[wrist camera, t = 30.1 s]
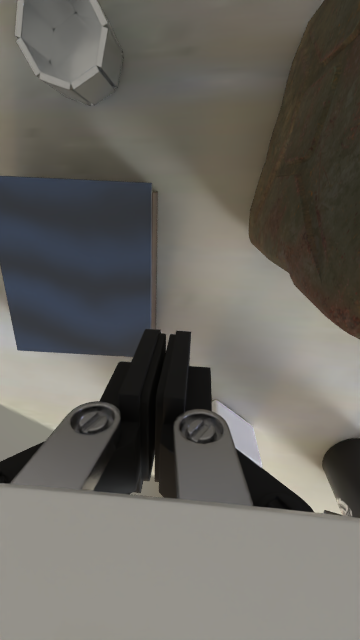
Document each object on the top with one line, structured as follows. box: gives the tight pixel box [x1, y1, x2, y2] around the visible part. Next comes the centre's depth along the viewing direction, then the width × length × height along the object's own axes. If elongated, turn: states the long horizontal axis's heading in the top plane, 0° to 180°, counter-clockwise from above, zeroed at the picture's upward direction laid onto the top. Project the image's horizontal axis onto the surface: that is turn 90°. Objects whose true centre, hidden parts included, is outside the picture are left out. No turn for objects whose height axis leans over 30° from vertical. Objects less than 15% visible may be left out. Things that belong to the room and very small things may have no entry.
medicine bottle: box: [212, 400, 262, 468], centre depth 38 cm, size 7×7×12 cm
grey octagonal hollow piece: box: [15, 0, 124, 106], centre depth 25 cm, size 7×7×6 cm
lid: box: [0, 176, 152, 357], centre depth 31 cm, size 17×15×1 cm
